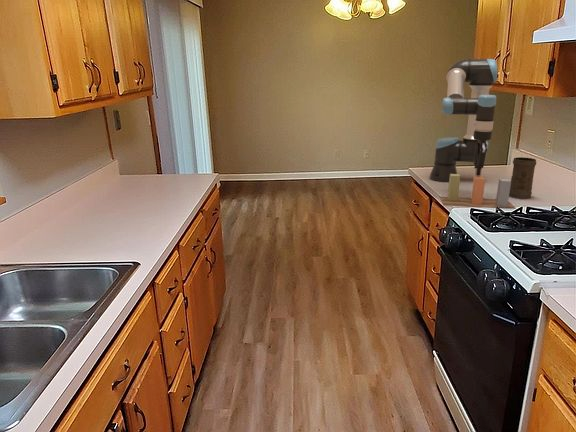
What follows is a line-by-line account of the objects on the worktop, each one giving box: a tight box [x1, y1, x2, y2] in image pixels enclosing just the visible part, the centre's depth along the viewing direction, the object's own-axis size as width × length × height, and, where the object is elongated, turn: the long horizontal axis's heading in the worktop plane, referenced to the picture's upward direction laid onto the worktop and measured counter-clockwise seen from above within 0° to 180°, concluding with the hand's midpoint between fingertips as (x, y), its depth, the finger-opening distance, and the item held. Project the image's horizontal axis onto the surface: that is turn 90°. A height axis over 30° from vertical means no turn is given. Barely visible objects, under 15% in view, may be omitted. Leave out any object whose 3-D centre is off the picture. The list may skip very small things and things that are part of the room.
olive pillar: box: [446, 173, 461, 201], centre depth 214 cm, size 4×4×12 cm
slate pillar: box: [495, 178, 511, 207], centre depth 204 cm, size 4×4×12 cm
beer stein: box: [509, 157, 537, 200], centre depth 221 cm, size 15×11×20 cm
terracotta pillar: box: [470, 176, 486, 205], centre depth 209 cm, size 4×4×12 cm
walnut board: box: [439, 196, 517, 210], centre depth 212 cm, size 15×31×1 cm, turn 80°
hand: (476, 181), depth 212 cm, fingers closed
